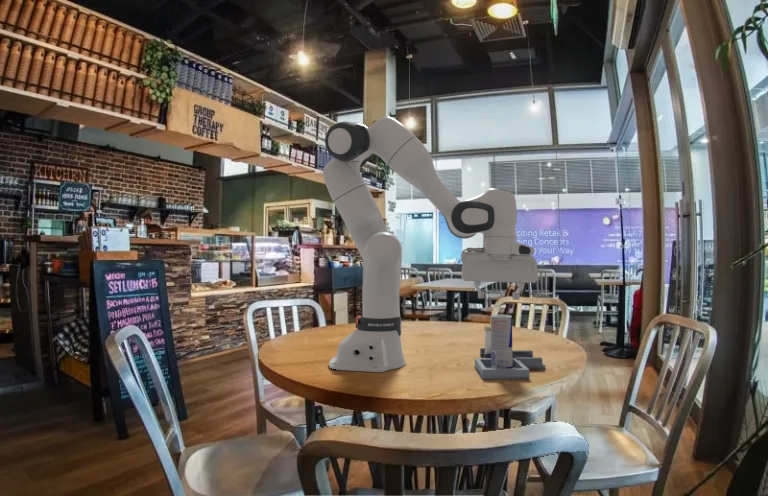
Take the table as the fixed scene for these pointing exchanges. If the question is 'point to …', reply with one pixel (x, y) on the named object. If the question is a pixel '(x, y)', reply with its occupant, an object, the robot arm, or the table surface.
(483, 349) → the clip
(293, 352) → the table surface
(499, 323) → the beverage can
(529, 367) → the grey stepped base
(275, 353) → the table surface
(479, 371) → the tray
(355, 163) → the robot arm
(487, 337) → the cylinder
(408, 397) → the table surface
